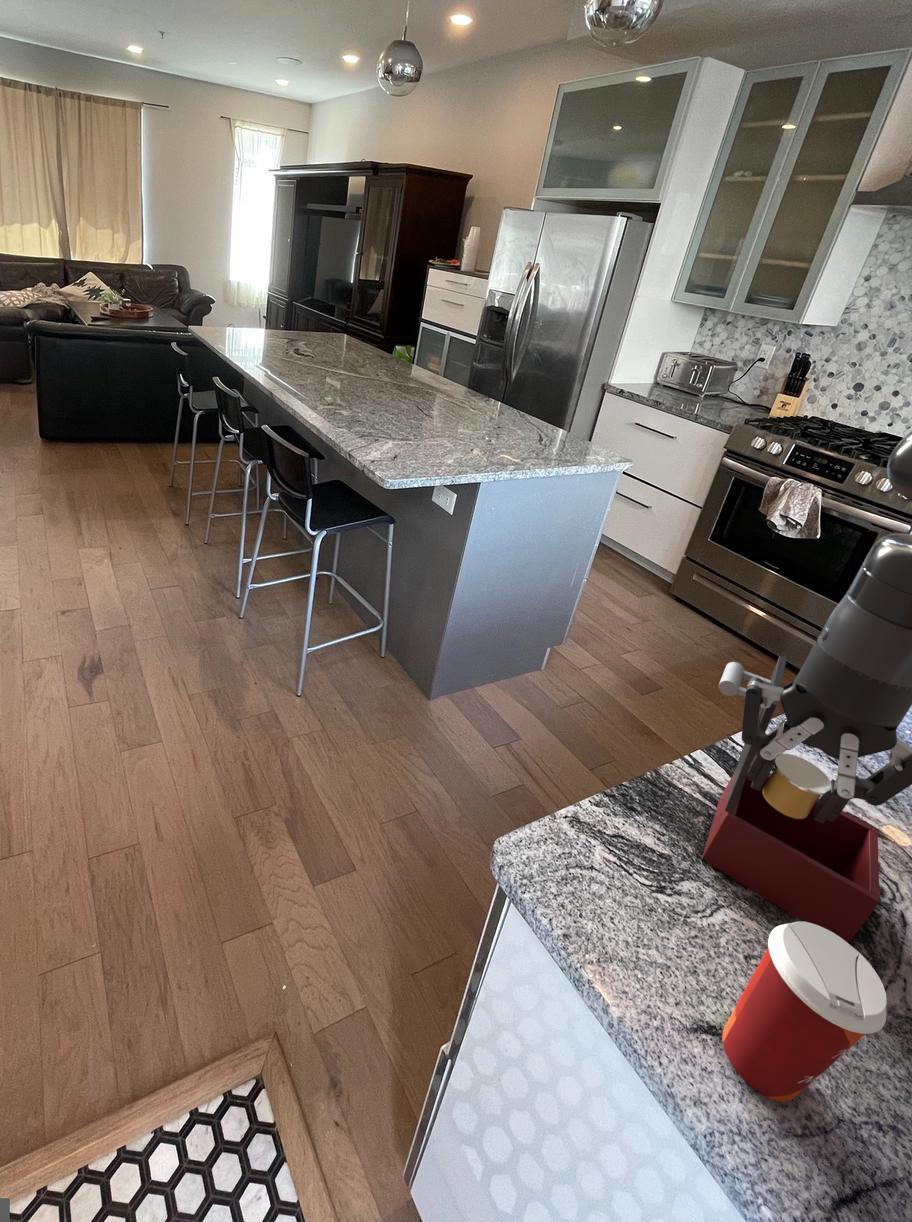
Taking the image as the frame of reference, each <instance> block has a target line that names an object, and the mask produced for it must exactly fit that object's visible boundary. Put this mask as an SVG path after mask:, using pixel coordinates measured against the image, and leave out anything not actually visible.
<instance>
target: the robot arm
mask: <svg viewBox="0 0 912 1222" xmlns="http://www.w3.org/2000/svg"><path fill="white" fill-rule="evenodd" d="M890 453H891V454H890V455H889V458H888V461H887V466H886V474H887V479H888V482H889V483H890V485H891V487H892V488H893V489H894V490H895V491H896V492H897V493H898V494H900V495H901V496H902V497H904V498H905V499H907V500H909V501H911V502H912V430H911V431H910V432H908V434H906V435H904V437H903V438H902V439H901V440H900V441H899V442H898V443H897V444H896V446H895V447H894V449H893V450H892V452H890ZM746 689H747V690H746V695H745V697H744V707H743V718H742V727H741V728H742V729H741V741H742V742H743V744H745V743H746V744H748V745H752V746H753V747H754V748H755V749H756V750H757V753H756V755H755V757H754V759H753V760H752V762H751V764H750V766H749V770H748V779H749V780H750V781H752V784H751V787H752V788H754V789H756V790H758V791H760V789H761V788H762V786H763V784H764V782H765V781H766V779H767V777H768V775H769V774H771V772H772V771H773V768H774V767H775V766H774V765H775V759H776V757H778V756H779V755H780V754H784V753H785V752H787V751H791V750H793V749H794V748H796V747H797V746H799V745H800V744H803V745H805V746H807V747H810V748H813V749H818V750H819V751H821V752H823V753H824V754H825V755H826V756H828V757H831V758H832V759H834V760H836V761H838V763H837V775H836V779H833V778H832V779H831V780H830V782H831V791H830V792H829V793H828V794H825V795H820V797H819V798H818V799H819V801H818V802H817V804H816V806H815V809H814V820H816V821H818V822H820V823H822V824H823V823H824V822H825V821H826V820H828V821H830V822H833V821H835V820H837V818H838V817H839V815H840V814H841V812H842V811H843V812H844V809H845V808H846V806H847V804H848V803H849V801H851V800H853V799H859V800H864V801H865V802H866V803H868V804H869V805H871V806H873V807H878V806H882V804H884V803H886V802H887V801H889V800H890V799H892V798H894V797H895V796H896V795H898V794H900V793H901V792H902V791H904V790H906V789H907V788H909V787H910V786H912V747H911V746H910V745H908V744H907V743H905V742H904V741H903V740H901V739H900V738H898V737H897V729H898V727H899V726H900V724H901V723H902V721H903V720H904V719H905V717H906V715H907V714H908V712H909V710H910V709H911V707H912V534H910V533H900V532H899V533H890V534H886V535H884V536H882V537H880V538H879V539H878V540H876V542H875V543H874V544H873V545H872V547H871V548H870V550H869V552H868V553H867V555H866V557H865V558H864V561H863V562H862V564H861V566H860V567H859V569H858V571H857V573H856V574H855V576H854V578H853V580H852V582H851V584H850V585H849V588H848V589H847V591H846V593H845V595H844V596H843V597H842V599H841V600H840V601H839V602H838V603H837V605H836V606H835V607H834V609H833V610H832V612H831V613H830V614H829V617H828V619H827V620H826V622H825V624H824V626H823V627H822V629H821V631H820V633H819V635H818V637H817V638H816V640H815V642H814V644H813V646H812V648H811V649H810V652H808V655H807V657H806V658H805V661H804V663H803V664H802V666H801V667H800V670H799V672H798V674H797V675H796V677H795V679H793V680H792V681H791V682H789V683H787V684H785V685H784V686H783V687H776V686H772V685H767V684H764V682H763V681H762V680H761V679H760V678H757V677H753V678H751V679H750V680H749V681H748V683H747V687H746ZM774 701H777V702H780V704H781V707H782V709H783V712H784V715H785V718H784V719H783V720H781V721H780V722H779V724H778V725H777V726H776V727H775V728H774V729H773V730H770V732H769V733H766V732H763V731H762V730H761V729H760V718H761V708H763V709H764V708H769V707H770V706H771V704H772V703H773V702H774ZM886 751H890V753H889V755H888V760H889V761H888V763H886V764H885V765H883V766H882V767H881V768H879V769H878V770H876V771H875V772H874V773H872V774H871V775H869V776H867V778H861V777H858V776H857V769H858V759H859V758H863V757H865V756H871V755H874V754H878V753H882V752H886Z"/></svg>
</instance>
